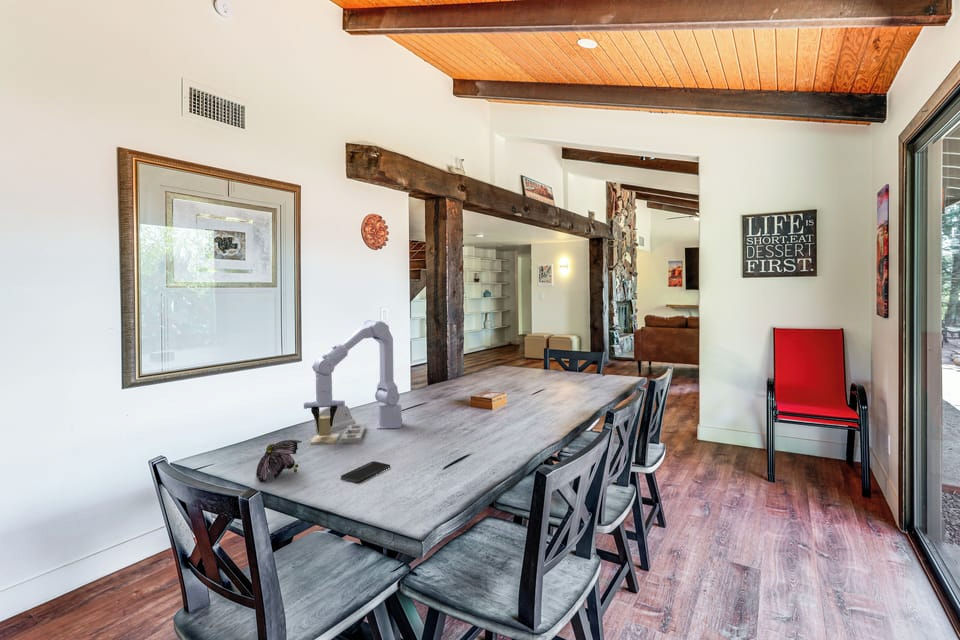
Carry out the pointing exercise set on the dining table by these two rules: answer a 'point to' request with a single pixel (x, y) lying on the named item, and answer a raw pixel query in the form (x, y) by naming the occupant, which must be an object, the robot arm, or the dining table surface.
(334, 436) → the birch pad
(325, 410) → the grey rounded upright block
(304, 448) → the dining table surface
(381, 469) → the phone
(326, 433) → the brass peg
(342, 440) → the grey peg hole board
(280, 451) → the decorative flower
